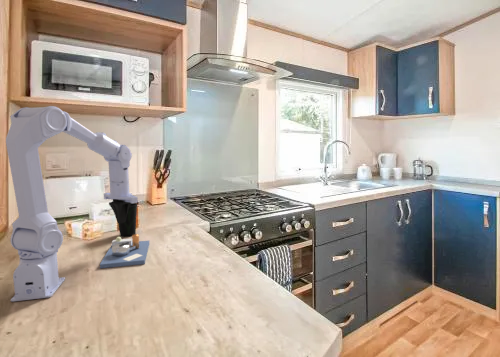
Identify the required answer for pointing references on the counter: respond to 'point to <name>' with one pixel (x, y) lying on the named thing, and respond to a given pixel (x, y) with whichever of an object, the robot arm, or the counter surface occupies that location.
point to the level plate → (130, 259)
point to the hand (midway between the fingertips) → (121, 222)
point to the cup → (129, 222)
